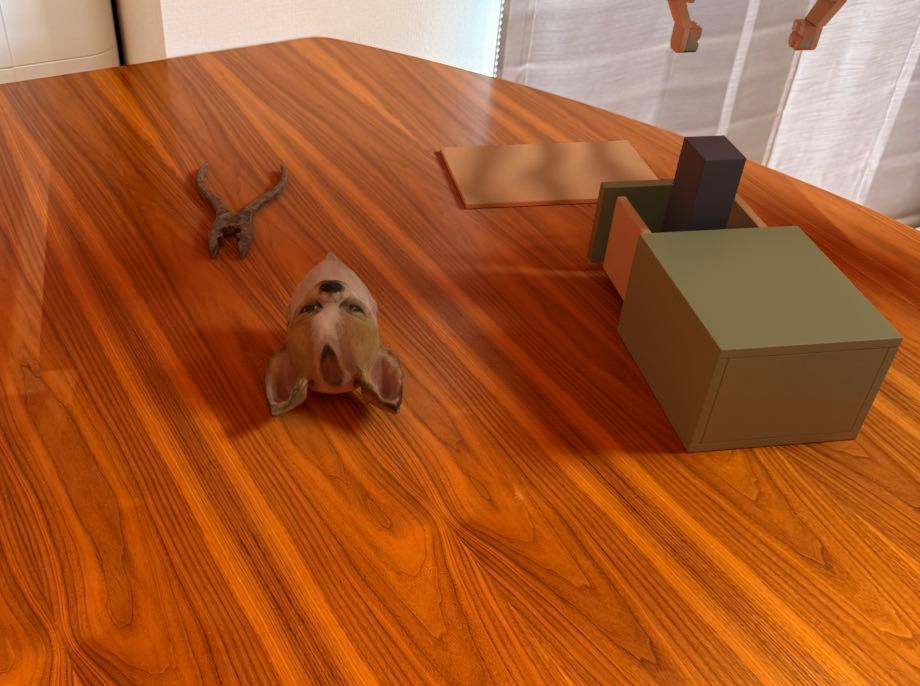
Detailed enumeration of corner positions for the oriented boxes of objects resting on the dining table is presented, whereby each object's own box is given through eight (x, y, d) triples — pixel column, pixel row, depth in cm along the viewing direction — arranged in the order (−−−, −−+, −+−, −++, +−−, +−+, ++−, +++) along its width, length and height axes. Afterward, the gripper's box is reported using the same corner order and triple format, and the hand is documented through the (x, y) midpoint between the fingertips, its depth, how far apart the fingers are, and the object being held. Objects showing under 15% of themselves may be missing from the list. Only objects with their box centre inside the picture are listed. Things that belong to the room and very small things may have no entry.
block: (688, 267, 88) (724, 135, 80) (707, 293, 85) (747, 158, 77) (651, 269, 88) (684, 136, 79) (669, 295, 85) (705, 159, 76)
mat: (626, 144, 112) (627, 139, 112) (670, 199, 102) (671, 194, 102) (439, 151, 110) (440, 147, 109) (466, 208, 100) (466, 204, 99)
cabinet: (616, 330, 84) (638, 233, 78) (763, 321, 86) (797, 225, 79) (687, 453, 73) (720, 349, 66) (856, 439, 74) (904, 337, 68)
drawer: (573, 235, 94) (586, 161, 89) (694, 229, 96) (714, 156, 91) (642, 349, 81) (662, 270, 76) (782, 340, 82) (811, 261, 77)
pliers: (282, 155, 105) (312, 244, 92) (283, 163, 106) (312, 252, 92) (192, 161, 104) (209, 252, 90) (193, 169, 104) (210, 261, 91)
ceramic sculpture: (396, 232, 77) (410, 348, 67) (393, 323, 84) (405, 441, 74) (262, 234, 77) (255, 351, 67) (269, 325, 83) (264, 444, 73)
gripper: (924, -184, 67) (849, 33, 76) (640, -188, 64) (600, 37, 74) (978, -167, 62) (891, 61, 72) (675, -170, 60) (627, 67, 69)
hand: (742, 49), depth 73 cm, fingers open, 8 cm apart
